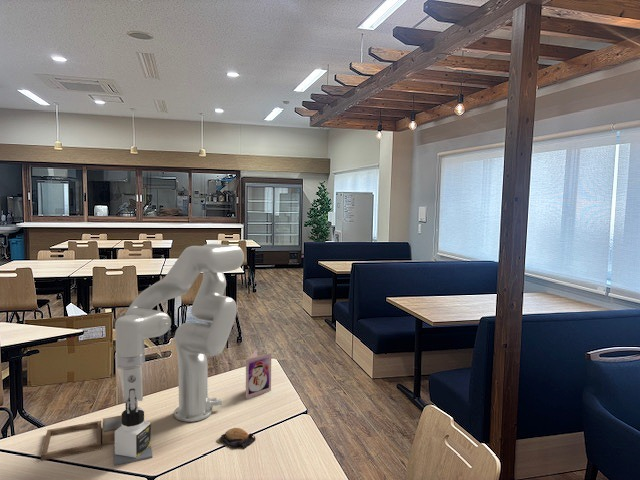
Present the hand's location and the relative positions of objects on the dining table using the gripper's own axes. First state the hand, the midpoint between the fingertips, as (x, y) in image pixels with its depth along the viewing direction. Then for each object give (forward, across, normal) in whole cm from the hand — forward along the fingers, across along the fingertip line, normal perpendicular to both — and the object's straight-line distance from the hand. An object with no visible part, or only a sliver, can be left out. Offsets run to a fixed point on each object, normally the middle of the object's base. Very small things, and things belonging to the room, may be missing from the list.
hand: (132, 418), depth 130 cm
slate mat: (+10, 0, 0) cm, 10 cm away
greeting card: (+10, +25, -44) cm, 52 cm away
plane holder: (+10, +13, +11) cm, 20 cm away
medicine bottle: (+10, 0, 0) cm, 10 cm away
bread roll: (+11, -5, -29) cm, 32 cm away
